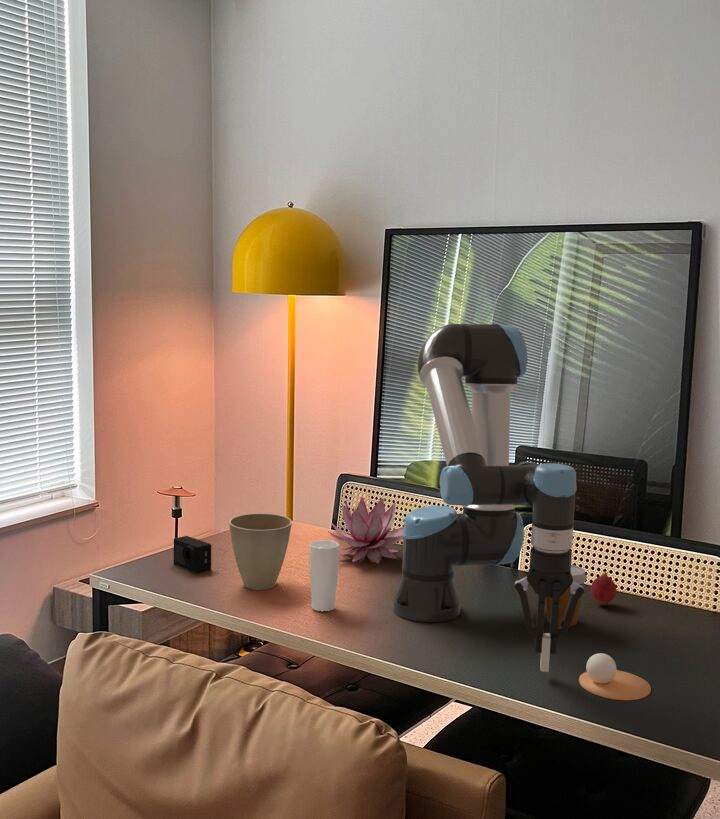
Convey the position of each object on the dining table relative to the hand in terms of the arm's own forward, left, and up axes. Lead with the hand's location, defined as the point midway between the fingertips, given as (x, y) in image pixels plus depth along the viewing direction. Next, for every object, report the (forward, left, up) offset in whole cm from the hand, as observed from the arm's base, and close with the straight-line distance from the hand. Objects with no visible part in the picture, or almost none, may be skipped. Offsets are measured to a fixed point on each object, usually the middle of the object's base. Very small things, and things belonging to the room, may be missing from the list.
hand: (544, 668), depth 175 cm
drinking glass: (-48, +27, -2) cm, 55 cm away
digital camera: (-87, +48, -2) cm, 99 cm away
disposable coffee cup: (+5, +31, -2) cm, 31 cm away
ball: (+10, 0, +1) cm, 11 cm away
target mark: (+13, 0, -2) cm, 13 cm away
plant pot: (-66, +39, -2) cm, 77 cm away
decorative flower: (-44, +67, -2) cm, 80 cm away
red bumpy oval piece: (+15, +44, -2) cm, 47 cm away
